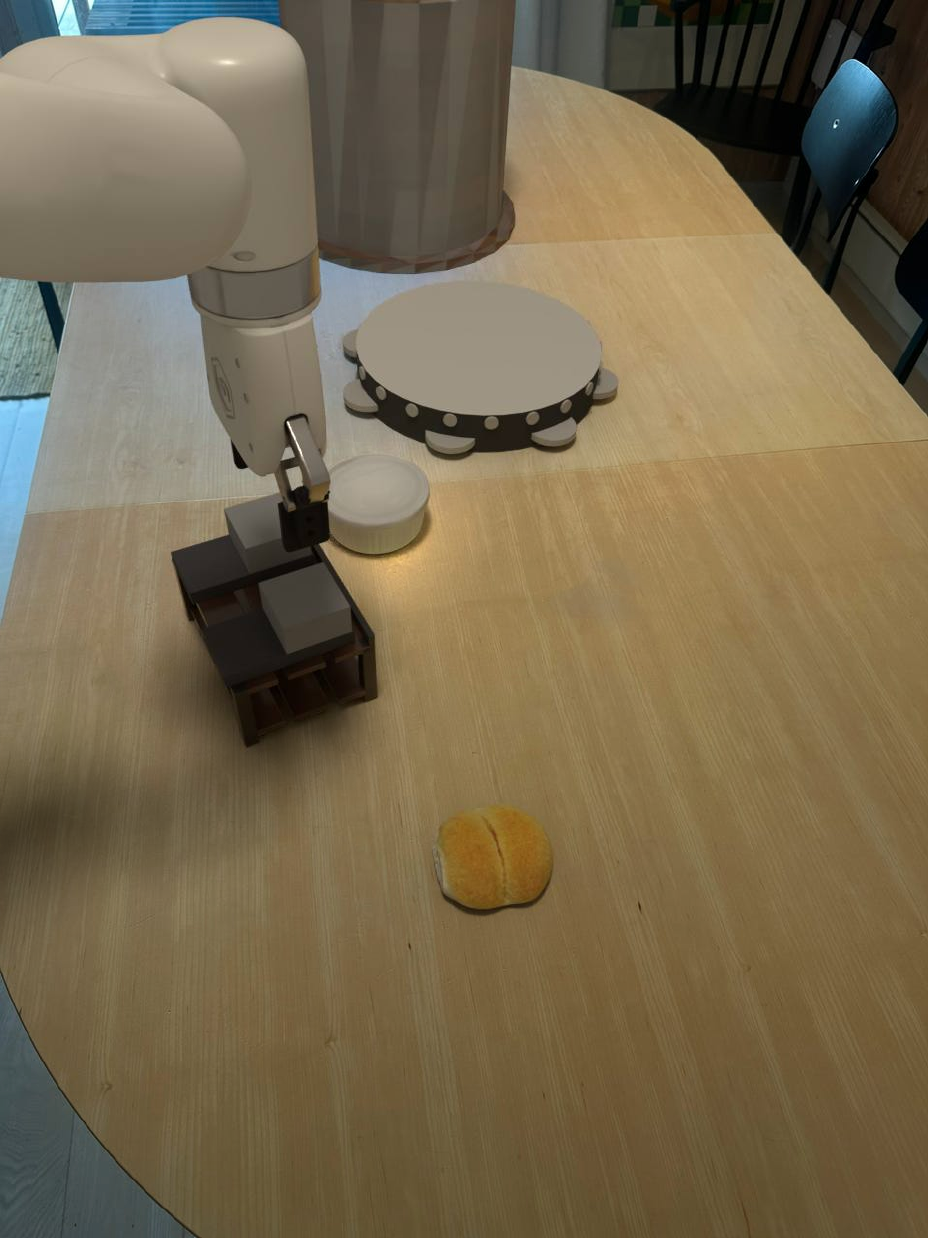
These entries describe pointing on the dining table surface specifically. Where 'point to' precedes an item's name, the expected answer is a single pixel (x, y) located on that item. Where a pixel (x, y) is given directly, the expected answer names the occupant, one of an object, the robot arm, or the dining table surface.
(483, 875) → the bread roll
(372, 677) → the rack
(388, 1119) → the dining table surface
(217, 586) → the grey block
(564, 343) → the tambourine
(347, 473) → the ramekin
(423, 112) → the storage basket
